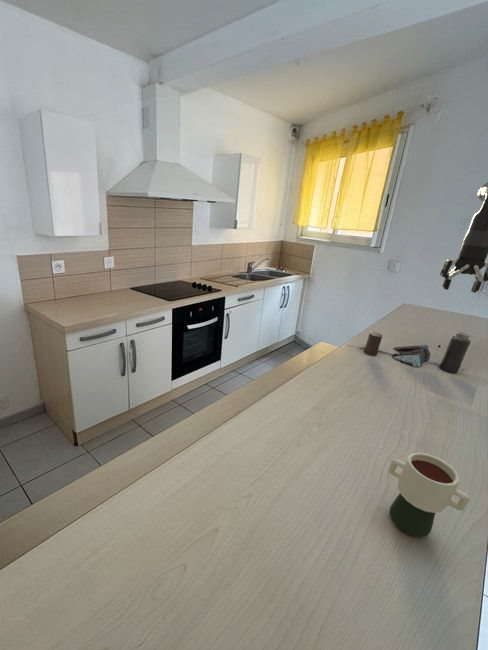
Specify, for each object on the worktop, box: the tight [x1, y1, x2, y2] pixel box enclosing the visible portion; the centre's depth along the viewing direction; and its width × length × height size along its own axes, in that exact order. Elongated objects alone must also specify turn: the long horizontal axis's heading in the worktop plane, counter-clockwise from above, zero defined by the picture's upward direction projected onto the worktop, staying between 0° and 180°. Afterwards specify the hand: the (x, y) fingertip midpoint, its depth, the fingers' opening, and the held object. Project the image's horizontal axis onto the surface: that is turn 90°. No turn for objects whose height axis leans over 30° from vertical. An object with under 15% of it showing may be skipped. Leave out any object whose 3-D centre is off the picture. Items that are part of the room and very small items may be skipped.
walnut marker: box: [363, 331, 383, 357], centre depth 123 cm, size 4×4×8 cm
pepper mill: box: [439, 331, 471, 374], centre depth 111 cm, size 5×5×14 cm
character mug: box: [387, 452, 470, 538], centre depth 55 cm, size 11×7×13 cm, turn 44°
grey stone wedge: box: [391, 344, 431, 368], centre depth 118 cm, size 10×7×12 cm
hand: (459, 290), depth 116 cm, fingers open, 8 cm apart
